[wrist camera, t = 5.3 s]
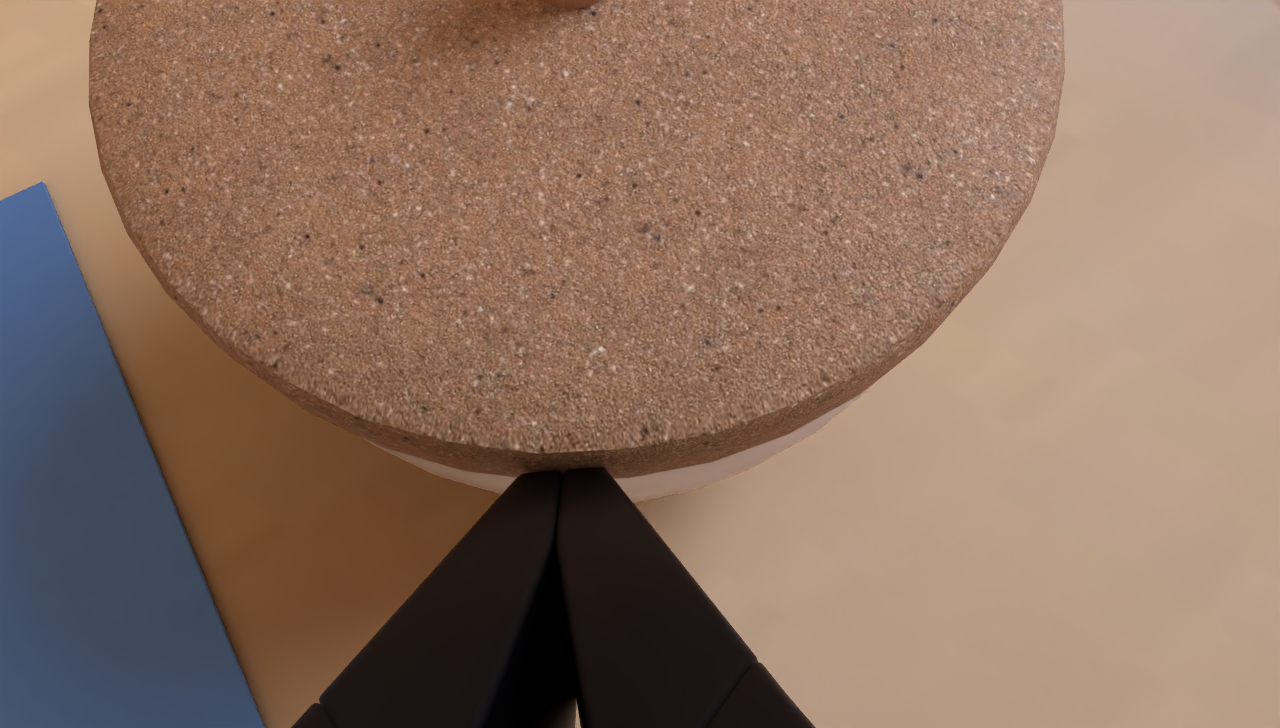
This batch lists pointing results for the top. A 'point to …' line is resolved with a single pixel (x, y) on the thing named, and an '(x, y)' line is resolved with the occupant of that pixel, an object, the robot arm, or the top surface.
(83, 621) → the tape strip
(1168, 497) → the top surface
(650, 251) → the trinket box
